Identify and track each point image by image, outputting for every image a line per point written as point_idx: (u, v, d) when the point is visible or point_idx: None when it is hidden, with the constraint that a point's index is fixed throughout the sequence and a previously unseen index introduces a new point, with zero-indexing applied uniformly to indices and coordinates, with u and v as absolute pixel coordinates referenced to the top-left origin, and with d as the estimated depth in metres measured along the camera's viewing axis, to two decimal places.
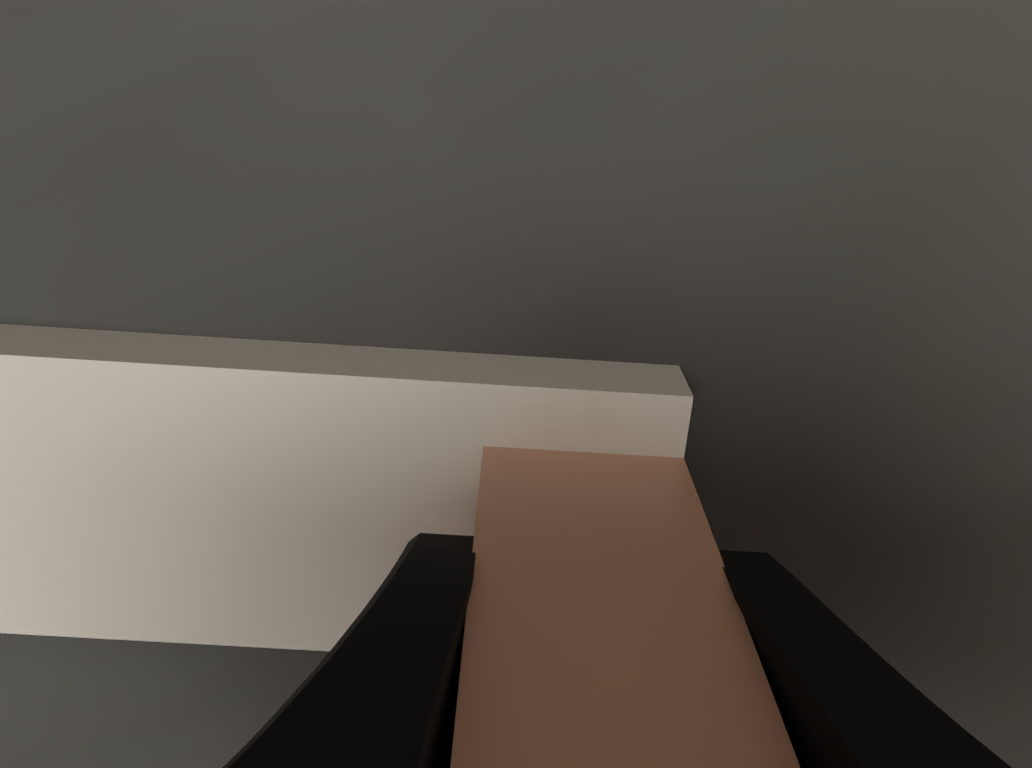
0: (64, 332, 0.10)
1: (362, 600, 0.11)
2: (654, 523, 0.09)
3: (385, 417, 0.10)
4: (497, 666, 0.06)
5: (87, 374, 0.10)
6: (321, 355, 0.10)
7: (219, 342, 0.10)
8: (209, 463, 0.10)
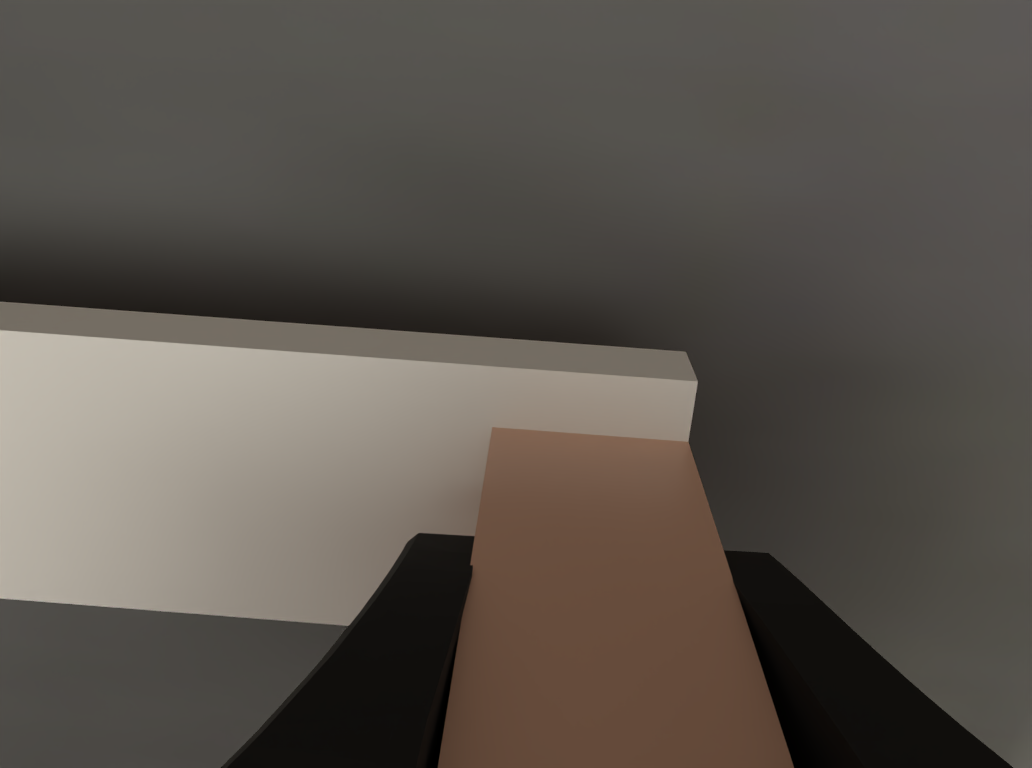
0: (93, 312, 0.11)
1: (374, 576, 0.11)
2: (654, 502, 0.09)
3: (397, 398, 0.10)
4: (495, 630, 0.07)
5: (113, 352, 0.10)
6: (337, 337, 0.10)
7: (240, 324, 0.11)
8: (229, 440, 0.10)
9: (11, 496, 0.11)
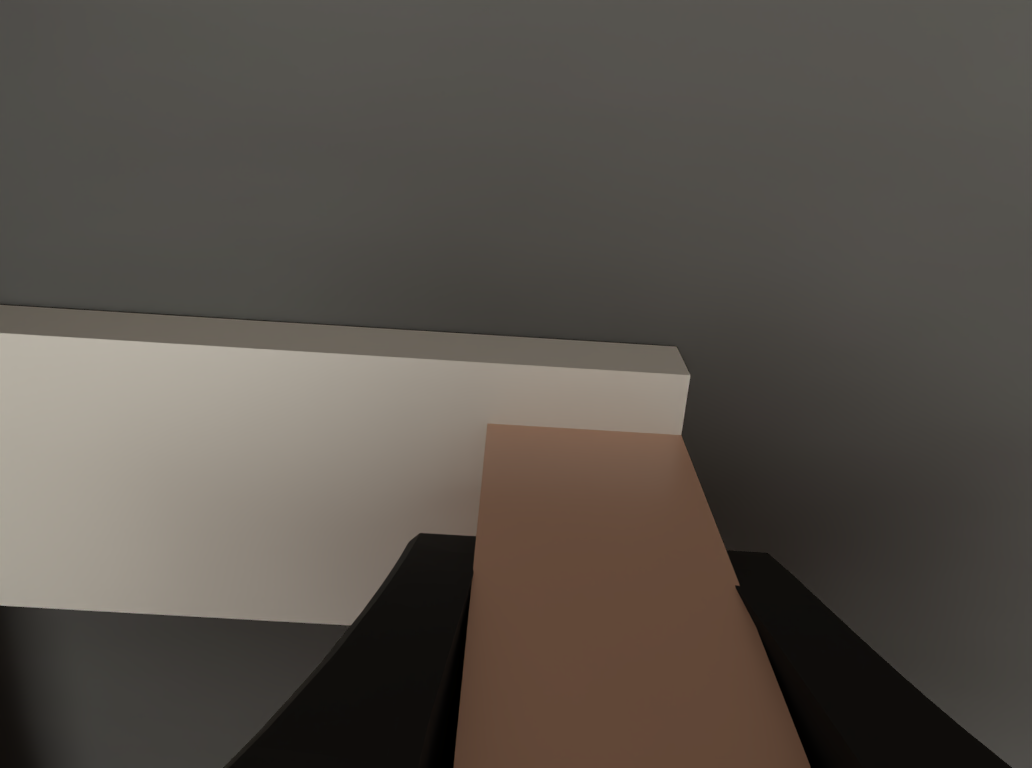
0: (82, 314, 0.11)
1: (370, 574, 0.11)
2: (651, 493, 0.09)
3: (392, 395, 0.10)
4: (503, 622, 0.07)
5: (105, 353, 0.10)
6: (330, 336, 0.10)
7: (232, 323, 0.11)
8: (223, 440, 0.10)
9: (0, 500, 0.11)
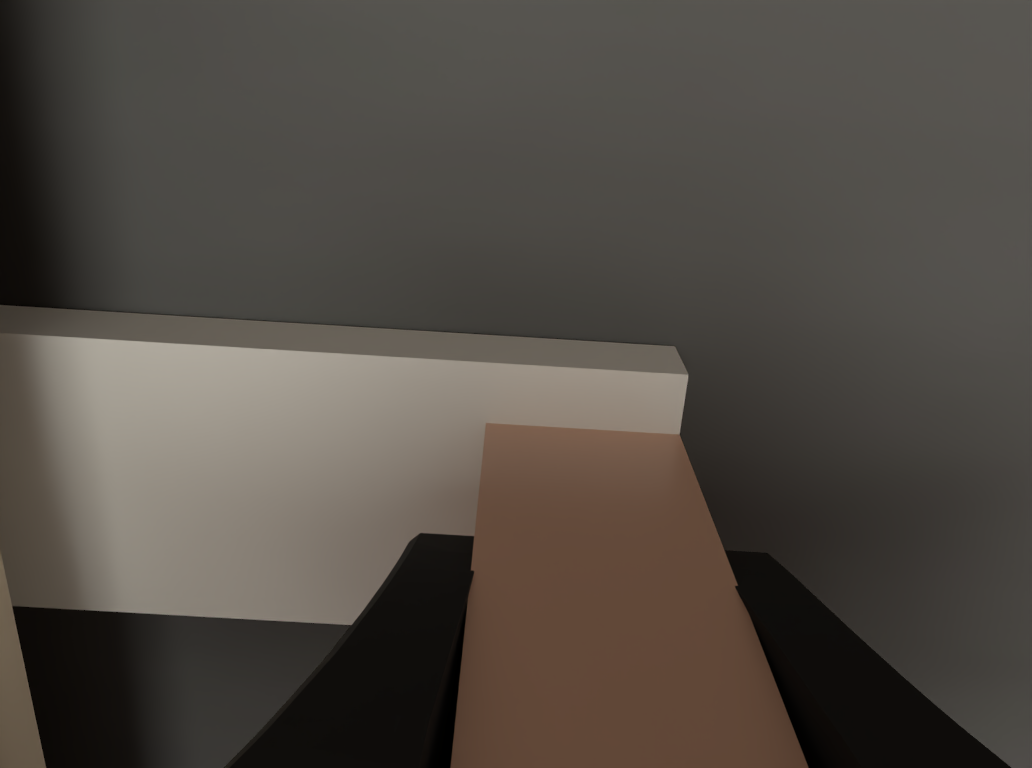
0: (81, 314, 0.11)
1: (369, 574, 0.11)
2: (650, 492, 0.09)
3: (392, 394, 0.10)
4: (500, 619, 0.07)
5: (105, 353, 0.10)
6: (330, 336, 0.10)
7: (231, 323, 0.11)
8: (222, 439, 0.10)
9: None
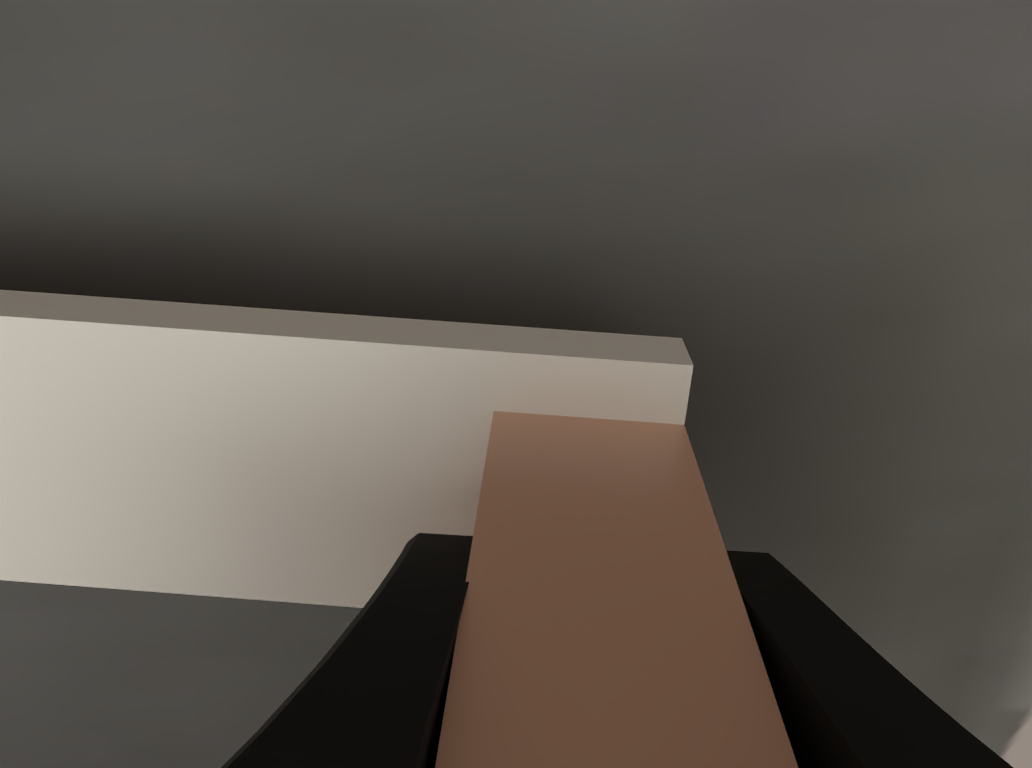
0: (105, 301, 0.11)
1: (379, 558, 0.11)
2: (651, 480, 0.09)
3: (402, 382, 0.10)
4: (498, 597, 0.07)
5: (126, 338, 0.10)
6: (342, 325, 0.11)
7: (248, 311, 0.11)
8: (237, 425, 0.11)
9: (25, 480, 0.11)
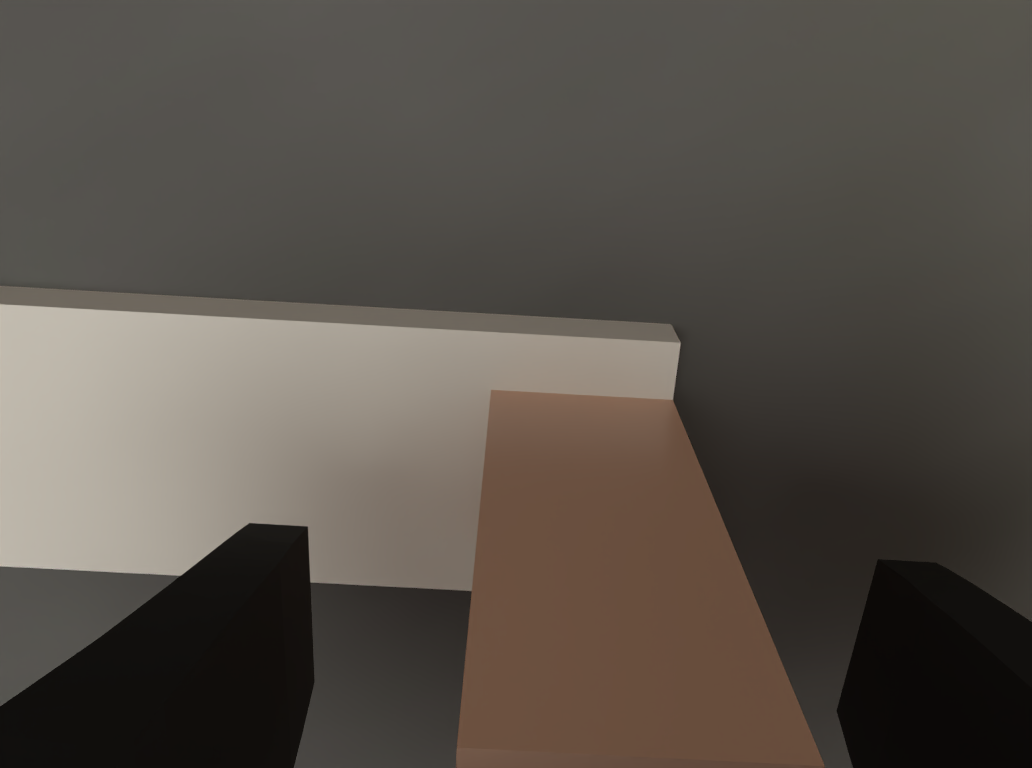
0: None
1: (380, 536, 0.12)
2: (644, 449, 0.10)
3: (402, 363, 0.11)
4: (507, 553, 0.07)
5: (134, 325, 0.11)
6: (343, 310, 0.11)
7: None
8: (243, 408, 0.11)
9: (33, 466, 0.11)
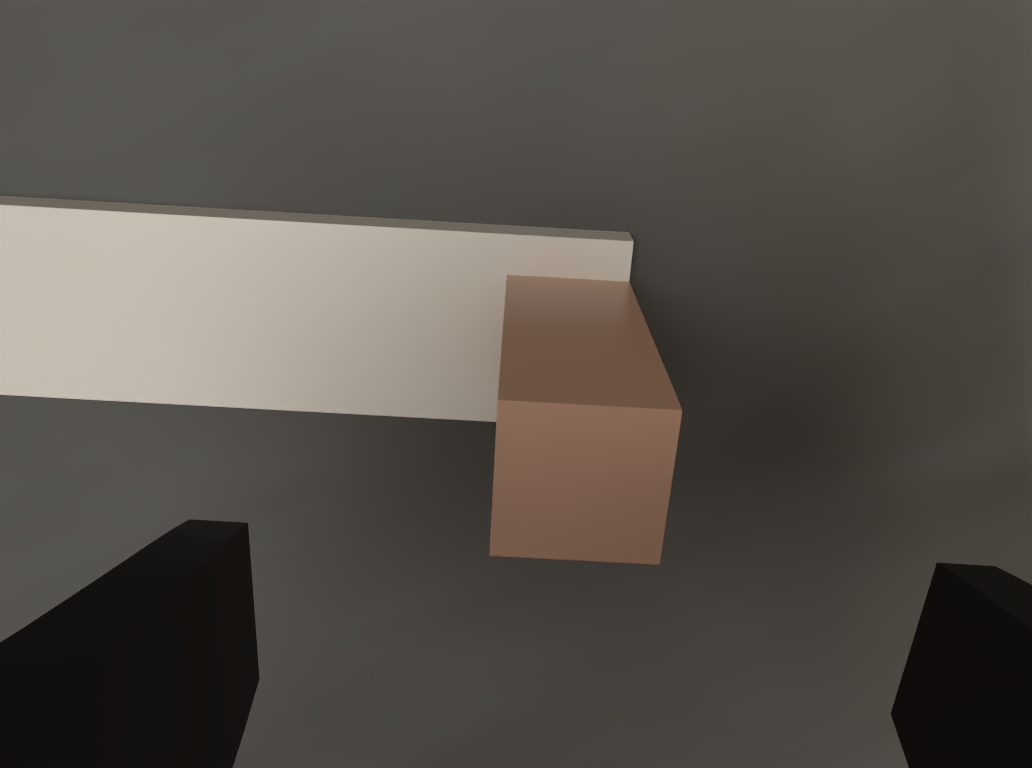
0: None
1: (430, 380, 0.17)
2: (607, 303, 0.15)
3: (447, 256, 0.16)
4: (520, 340, 0.13)
5: (269, 229, 0.16)
6: (407, 221, 0.16)
7: None
8: (340, 287, 0.16)
9: (194, 330, 0.17)
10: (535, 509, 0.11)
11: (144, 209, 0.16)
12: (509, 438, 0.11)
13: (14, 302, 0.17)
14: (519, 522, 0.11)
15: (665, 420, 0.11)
